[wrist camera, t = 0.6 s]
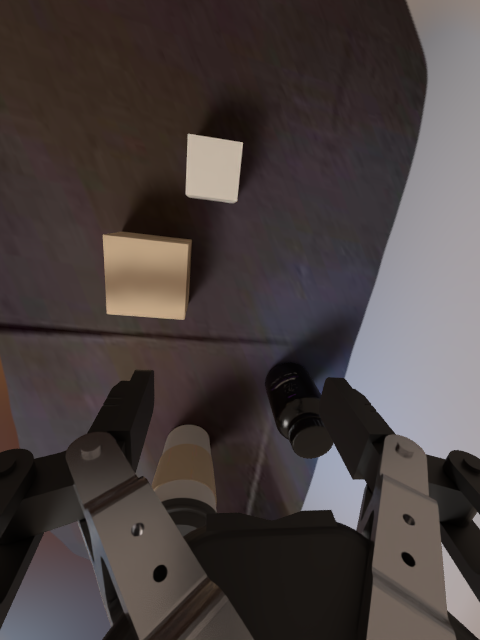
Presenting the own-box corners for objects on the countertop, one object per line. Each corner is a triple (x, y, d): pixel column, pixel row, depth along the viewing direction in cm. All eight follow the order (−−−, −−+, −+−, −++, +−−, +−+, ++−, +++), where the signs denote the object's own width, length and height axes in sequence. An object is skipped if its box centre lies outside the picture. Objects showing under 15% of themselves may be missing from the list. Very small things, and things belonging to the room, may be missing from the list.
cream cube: (191, 146, 29) (187, 133, 24) (237, 154, 30) (242, 142, 25) (189, 197, 31) (185, 194, 26) (233, 203, 31) (237, 201, 27)
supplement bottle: (277, 354, 39) (304, 409, 28) (316, 369, 41) (356, 428, 30) (255, 391, 41) (272, 457, 30) (294, 405, 43) (323, 472, 32)
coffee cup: (155, 460, 44) (130, 575, 30) (162, 416, 41) (137, 519, 27) (211, 465, 45) (211, 575, 31) (221, 422, 42) (227, 523, 28)
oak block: (121, 231, 31) (102, 234, 26) (192, 239, 32) (188, 244, 27) (123, 297, 34) (106, 313, 28) (188, 303, 35) (184, 319, 30)
